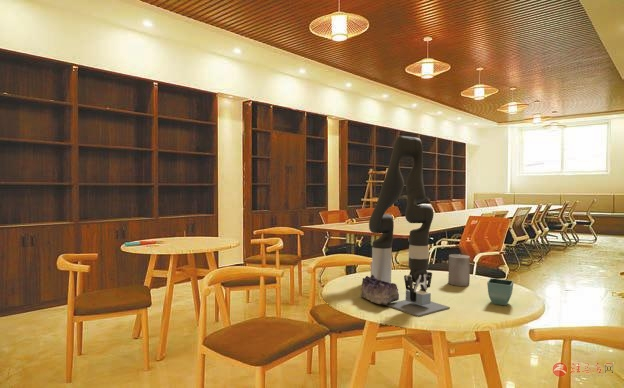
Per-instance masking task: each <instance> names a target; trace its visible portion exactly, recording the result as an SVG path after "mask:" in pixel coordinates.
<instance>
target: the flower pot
mask: <svg viewBox="0 0 624 388" xmlns="http://www.w3.org/2000/svg"><path fill="white" fill-rule="evenodd" d="M486 284H487V295H488V297H489V300H490V302H491V303H492V304H493V305H500V306H507V305H508V303H509V301H510V299H511V297H512V294H513V290H514V289H513V287H514V280H509V279H500V278H494V277H493V278H492V277H490V278H489V279H488V281H487V283H486Z"/></svg>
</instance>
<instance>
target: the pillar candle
mask: <svg viewBox="0 0 624 388" xmlns="http://www.w3.org/2000/svg"><path fill="white" fill-rule="evenodd" d="M470 267H471V256H470V255H467V254H462V253H460V252H459V254H457V253H453V254H452V253H451V254H449V255H448V276H447V278H448V281H447V283H448V285H452V286H455V287H468V286H470V279H471V278H470V277H471V275H470V272H471V271H470V270H471V268H470Z"/></svg>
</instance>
